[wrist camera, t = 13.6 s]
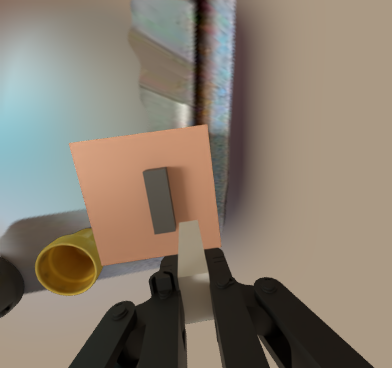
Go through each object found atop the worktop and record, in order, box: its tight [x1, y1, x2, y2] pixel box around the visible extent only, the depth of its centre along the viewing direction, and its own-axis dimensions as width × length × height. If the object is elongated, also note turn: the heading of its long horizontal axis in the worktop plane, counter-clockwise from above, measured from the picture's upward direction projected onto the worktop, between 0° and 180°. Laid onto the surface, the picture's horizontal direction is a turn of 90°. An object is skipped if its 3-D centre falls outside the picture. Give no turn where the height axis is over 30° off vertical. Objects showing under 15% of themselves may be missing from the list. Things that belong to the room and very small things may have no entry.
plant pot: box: [35, 228, 103, 296], centre depth 39 cm, size 10×10×10 cm
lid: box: [69, 125, 221, 266], centre depth 29 cm, size 19×19×4 cm
